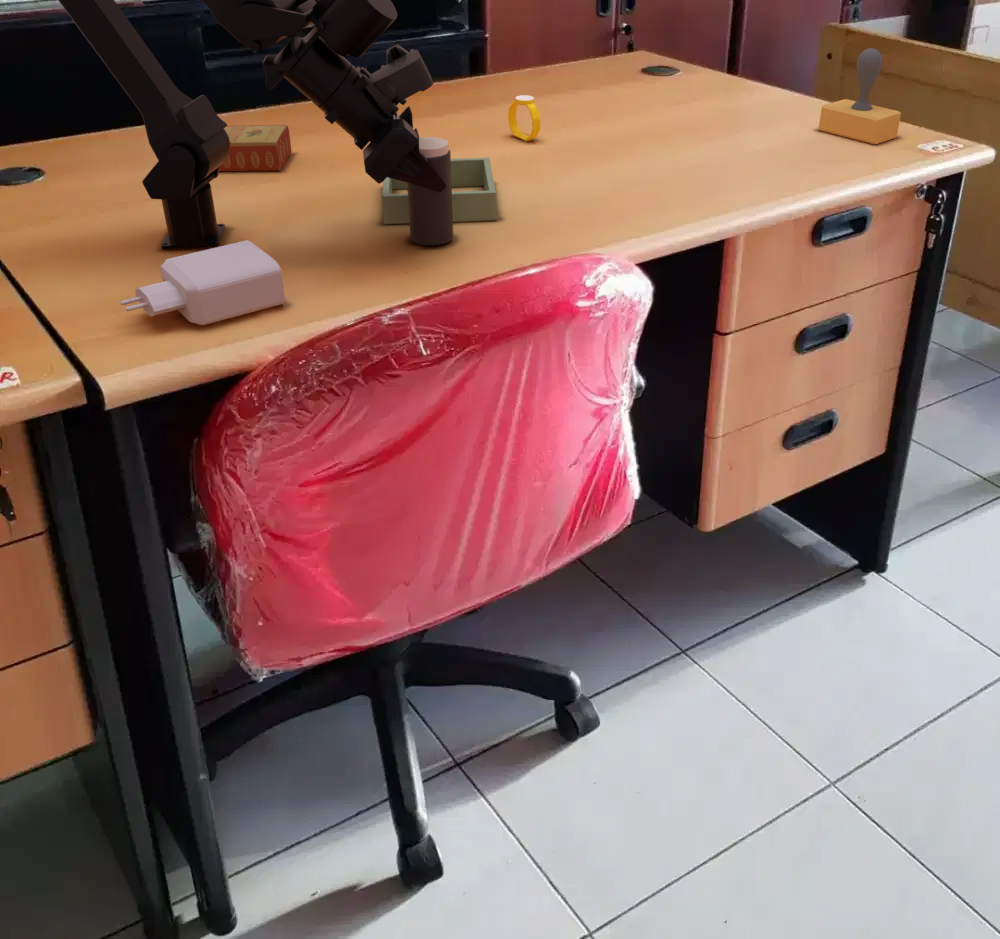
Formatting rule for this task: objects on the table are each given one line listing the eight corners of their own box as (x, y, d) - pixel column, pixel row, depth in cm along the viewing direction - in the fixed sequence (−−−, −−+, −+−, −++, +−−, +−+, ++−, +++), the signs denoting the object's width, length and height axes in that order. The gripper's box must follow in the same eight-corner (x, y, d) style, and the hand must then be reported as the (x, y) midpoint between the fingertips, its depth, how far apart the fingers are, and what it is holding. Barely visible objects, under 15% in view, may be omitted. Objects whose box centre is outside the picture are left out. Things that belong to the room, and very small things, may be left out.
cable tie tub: (453, 244, 123) (450, 149, 117) (410, 246, 123) (404, 150, 117) (452, 228, 127) (449, 135, 121) (410, 230, 127) (405, 136, 121)
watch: (504, 135, 160) (503, 94, 156) (518, 132, 161) (518, 91, 158) (529, 145, 156) (529, 103, 152) (544, 141, 157) (544, 99, 154)
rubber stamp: (897, 137, 157) (914, 51, 150) (874, 145, 154) (890, 57, 147) (840, 123, 163) (853, 39, 156) (816, 130, 160) (829, 45, 153)
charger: (113, 312, 110) (250, 278, 117) (143, 346, 103) (287, 307, 110) (103, 269, 107) (244, 236, 114) (133, 301, 101) (281, 264, 108)
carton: (280, 172, 147) (276, 140, 144) (164, 172, 147) (158, 141, 145) (292, 153, 154) (288, 123, 151) (181, 153, 154) (175, 123, 152)
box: (496, 220, 130) (495, 192, 128) (384, 224, 130) (381, 196, 128) (489, 183, 142) (489, 157, 140) (386, 187, 141) (384, 160, 139)
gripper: (390, 45, 104) (503, 153, 111) (379, 9, 119) (479, 105, 127) (316, 131, 107) (431, 230, 115) (314, 85, 123) (416, 175, 130)
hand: (441, 181), depth 122 cm, fingers closed on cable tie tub, 5 cm apart
